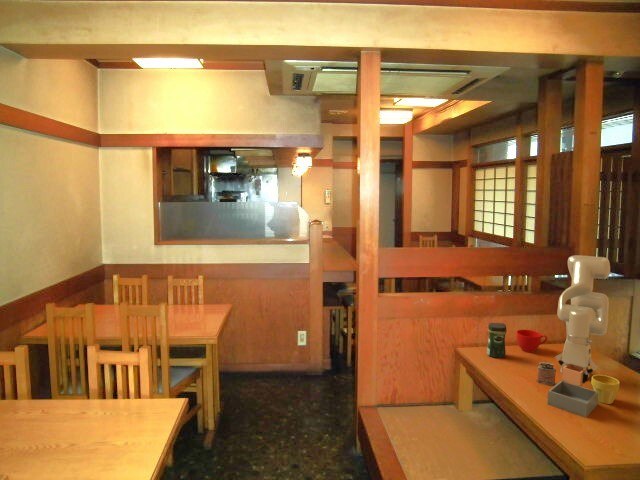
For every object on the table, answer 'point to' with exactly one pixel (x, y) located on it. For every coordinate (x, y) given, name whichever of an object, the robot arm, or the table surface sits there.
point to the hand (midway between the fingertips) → (574, 378)
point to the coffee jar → (496, 340)
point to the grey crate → (573, 398)
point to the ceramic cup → (529, 340)
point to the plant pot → (605, 388)
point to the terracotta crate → (572, 375)
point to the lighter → (546, 373)
